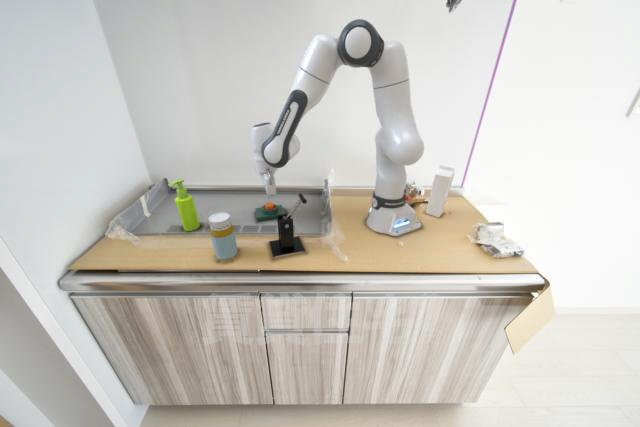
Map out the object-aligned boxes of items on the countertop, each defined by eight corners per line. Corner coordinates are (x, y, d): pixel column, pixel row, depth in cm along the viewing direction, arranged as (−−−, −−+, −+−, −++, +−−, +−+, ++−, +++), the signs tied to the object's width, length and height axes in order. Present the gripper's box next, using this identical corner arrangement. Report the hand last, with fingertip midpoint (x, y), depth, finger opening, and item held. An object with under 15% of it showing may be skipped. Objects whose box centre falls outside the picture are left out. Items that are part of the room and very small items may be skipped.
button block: (282, 208, 112) (281, 201, 110) (285, 218, 105) (285, 209, 103) (255, 212, 109) (254, 204, 107) (257, 222, 101) (256, 213, 99)
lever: (304, 195, 81) (299, 191, 80) (308, 201, 77) (303, 197, 75) (284, 222, 83) (278, 219, 82) (287, 230, 79) (281, 227, 78)
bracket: (298, 238, 91) (297, 208, 85) (305, 252, 83) (304, 221, 77) (269, 243, 88) (266, 213, 82) (273, 259, 80) (270, 226, 74)
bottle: (231, 263, 78) (223, 224, 71) (212, 260, 79) (202, 221, 72) (241, 250, 84) (235, 213, 77) (223, 248, 85) (215, 210, 78)
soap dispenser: (178, 230, 95) (163, 182, 85) (192, 222, 100) (179, 176, 91) (189, 233, 93) (175, 185, 83) (203, 225, 98) (191, 179, 89)
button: (273, 205, 107) (273, 202, 106) (275, 209, 104) (274, 205, 103) (264, 206, 106) (264, 203, 105) (265, 210, 103) (265, 207, 102)
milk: (438, 217, 107) (452, 170, 96) (424, 213, 110) (436, 166, 100) (443, 213, 111) (457, 166, 100) (429, 208, 114) (441, 163, 104)
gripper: (278, 173, 88) (281, 206, 95) (270, 158, 105) (273, 187, 112) (261, 175, 86) (265, 209, 93) (255, 159, 103) (259, 189, 110)
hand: (269, 197), depth 103 cm, fingers closed
